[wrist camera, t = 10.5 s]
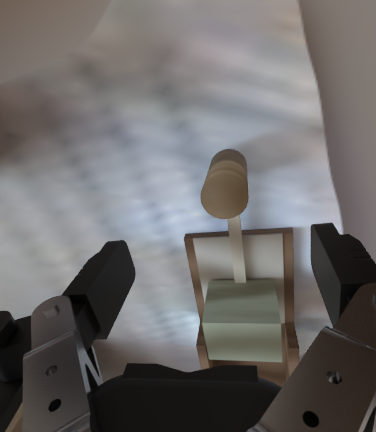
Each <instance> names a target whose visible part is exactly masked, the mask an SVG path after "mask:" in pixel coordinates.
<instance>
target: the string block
mask: <svg viewBox="0 0 376 432" xmlns="http://www.w3.org/2000/svg"><path fill="white" fill-rule="evenodd" d="M201 203H202V205H203V207H204V209H205V210H206V211H207V212H208V213H209V214H210V215H212V216H213V217H216V218H219V219H227V221H228V229H229V238H230V246H231V255H232V263H233V272H234V280H219V281H208V288H207V294H206V300H205V307H204V313H203V319H202V326H203V331H204V336H205V341H206V346H207V352H208V357H209V359H210V360H236V361H261V362H282V338H281V320H280V314H279V307H278V301H277V294H276V288H275V281H274V279H263V280H246V272H245V262H244V252H243V241H242V231H241V220H240V214H241V213H242V212H243V211H244V209H245V208H246V206H247V203H248V180H247V163H246V160H245V158H244V156H243V155H242V154H241V153H240V152H238V151H236V150H233V149H225V150H222V151H220V152H218V153H217V154H216V155H215V156H214V157H213V159H212V161H211V164H210V167H209V170H208V173H207V176H206V179H205V182H204V185H203V188H202V191H201Z"/></svg>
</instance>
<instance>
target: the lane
mask: <svg viewBox="0 0 376 432" xmlns="http://www.w3.org/2000/svg"><path fill="white" fill-rule="evenodd" d="M242 241H243V252H244V262H245V272H246V280H263V279H274V281H275V288H276V294H277V301H278V307H279V314H280V320H281V338H282V362H261V361H236V360H210V359H209V357H208V352H207V346H206V341H205V336H204V331H203V326H202V319H203V313H204V307H205V300H206V294H207V288H208V281H219V280H234V272H233V263H232V255H231V246H230V238H229V231H227V232H211V233H194V234H185V237H184V242H185V247H186V252H187V257H188V262H189V267H190V272H191V277H192V282H193V287H194V292H195V298H196V303H197V308H198V313H199V318H200V326H199V332H198V338H197V344H196V346H197V351H198V356H199V360H200V365H201V369H202V370H203V369H207V368H211V367H216V366H220V365H256V366H257V370H258V377H260V378H263V379H266V380H269V381H271V382H273V383H275V384H277V385H279V386H281V387H283V386H284V384H285V383H286V381H287V380H288V378H289V377H290V375H291V374H292V372H293V371H294V370H295V368H296V367H297V365H298V364H299V345H298V341H297V336H296V331H295V326H294V278H293V230H292V228H277V229H261V230H244V231H242Z"/></svg>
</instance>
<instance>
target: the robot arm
mask: <svg viewBox="0 0 376 432" xmlns="http://www.w3.org/2000/svg"><path fill="white" fill-rule="evenodd" d="M311 265H312V270H313V273H314V276H315V279H316V281H317V284H318V287H319V290H320V292H321V295H322V298H323V301H324V303H325V306H326V309H327V312H328V314H329V317H330V320H331V323H332V325H333V328H332V329H331V328H329V327H324V328H323V329H322V330H321V331H320V333H319V334H318V336H317V337H316V339H315V340H314V342H313V343H312V345H311V346H310V347H309V349H308V350H307V352H306V353H305V355H304V356H303V358H302V359H301V361H300V362H299V364H298V365H297V367H296V368H295V370H294V371H293V372H292V374H291V375H290V377H289V378H288V380H287V381H286V383H285V384H284V386H283V387H281V386H279V385H277V384H275V383H273V382H271V381H269V380H266V379H263V378H260V377H258V370H257V366H256V365H220V366H216V367H211V368H207V369H203V370H198V371H194V372H183V371H179V370H176V369H172V368H169V367H166V366H162V365H159V364H136V363H127V365H126V368H125V371H124V374H123V375H120V376H117V377H115V378H112V379H110V380H108V381H106V382H103V379H102V375H101V372H100V368H99V365H98V361H97V358H96V354H95V350H94V348H93V346H92V343H93V341H94V340H95V339H107V337H108V335H109V333H110V331H111V329H112V327H113V324H114V322H115V320H116V318H117V316H118V314H119V312H120V310H121V308H122V305H123V303H124V301H125V299H126V297H127V295H128V293H129V291H130V289H131V287H132V284H133V282H134V280H135V267H134V264H133V261H132V258H131V255H130V252H129V249H128V246H127V244H126V242H125V241H124V240H120V241H108V242H107V243H106V244H105V245H104V246H103V248H102V249H101V251H100V252H99V253H97V254H95V255H94V256H93V257H92V258H90V259H89V260H88V261H87V262H86V264H85V265H84V266H83V269H81V270H80V272H79V273H78V275H77V276H76V277H75V278H74V280H73V281H72V282H71V284H70V285H69V286H68V288H67V289H66V290H65V291H64V293H63V294H62V295H61V296H55V297H52V298H50V299H48V300H46V301H44V302H43V303H41V304H40V305H39V306H38V307H37V308H36V309H35V310H34V311H33V313H32V315H31V316H28V317H24V318H20V319H17V320H14V318H13V317H12V315H11V314H10V312H8V311H0V432H5V431H6V429H7V428H8V426H9V424H10V423H11V421H12V419H13V417H14V416H15V414H16V412H17V411H18V409H19V407H20V405H21V404H22V402H23V412H22V432H376V264H375V262H374V261H373V259H371V256H370V255H369V254H368V252H366V249H365V248H364V246H363V245H362V243H361V242H360V241H359V240H357V239H356V238H354V237H352V236H351V235H349V234H344V235H340V234H339V233H338V231H337V229H336V228H335V226H334V224H333V223H323V224H312V225H311Z"/></svg>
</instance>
